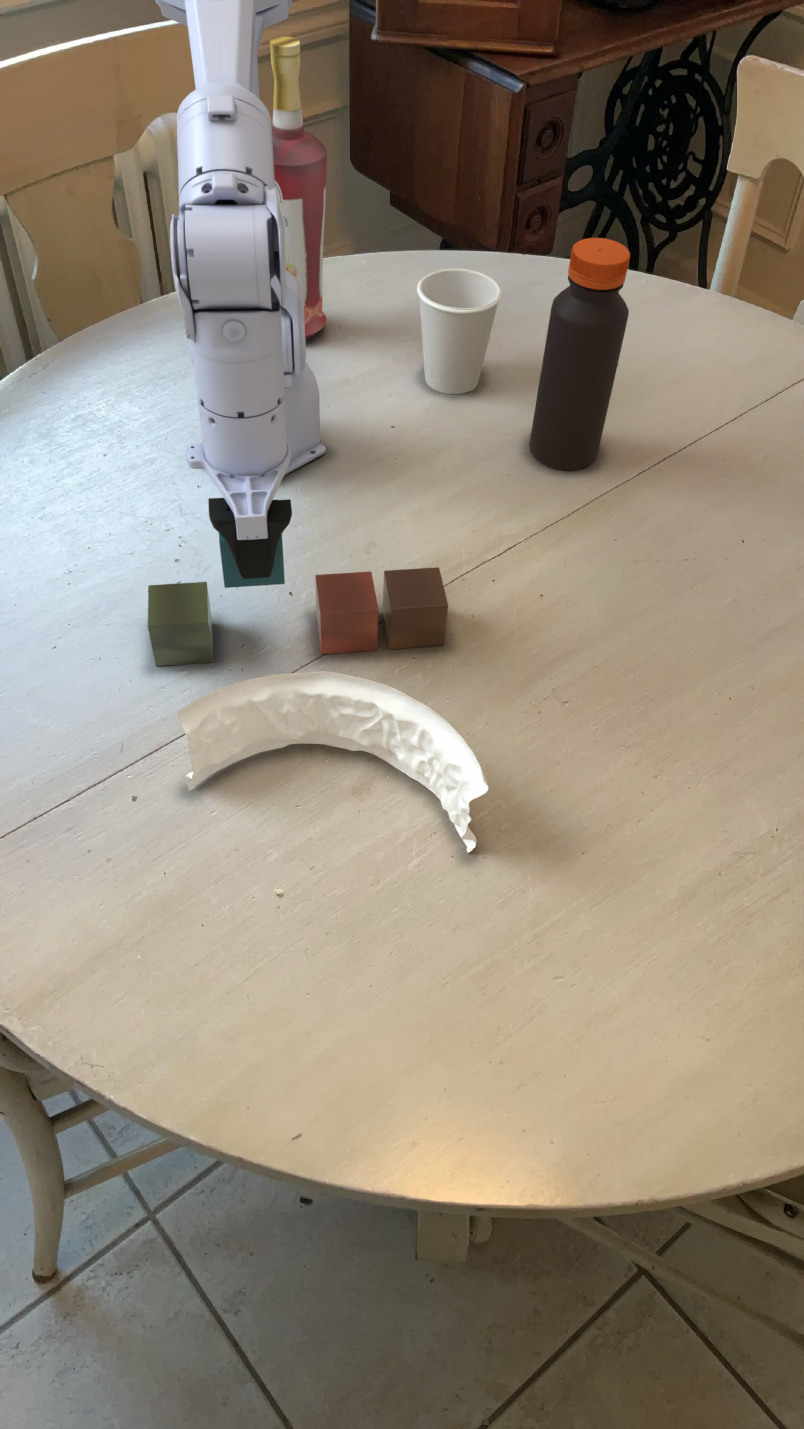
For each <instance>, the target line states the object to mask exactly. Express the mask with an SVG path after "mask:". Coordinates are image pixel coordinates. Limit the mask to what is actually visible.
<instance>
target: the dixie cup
mask: <svg viewBox="0 0 804 1429" xmlns="http://www.w3.org/2000/svg"><path fill="white" fill-rule="evenodd" d="M416 292H417V295H418V297H419V312H420V325H421V339H422V354H423V367H424V368H423V370H424V381H425V383H426V384H427V385H428V387H429V388H431V389H432V390H434V391H436V392H439V393H442V394H446V395H447V394H448V395H461V394H466V393H469V392H471V391H473V390H475V389H476V387H477V386H478V385H479V381H480V377H481V373H482V369H483V365H484V361H485V356H486V353H487V349H488V346H489V341H490V336H491V333H492V329H493V324H494V321H495V317H496V312H497V308H498V304H499V303H500V301H501V300H502V296H503V292H502V289H501V286H500V284H498V282H497V281H495V279H493V278H492V277H490V276H488V275H487V274H485V273H482V272H479V271H476V270H473V269H467V268H444V269H438V270H435V271H431V272H429V273H427V274H426V275H424V277H422V278H421V279H420V280H419V281H418V283H417V286H416Z"/></svg>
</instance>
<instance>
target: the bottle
mask: <svg viewBox="0 0 804 1429" xmlns="http://www.w3.org/2000/svg"><path fill="white" fill-rule="evenodd" d="M630 259H631V252H630V250H629V249H628V247H627V246H625V245H623V244H622V243H620V242H619V241H616V240H613V239H609V238H603V237H589V238H583V239H580V240H578V241H577V242H575V243H574V244H573V245H572V247H571V252H570V258H569V263H568V269H567V270H568V271H567V274H568V275H567V281H568V283H569V285H568V286H567V287H565V288H564V289H563V290H562V291H560V292H559V293H558V294H557V295H556V296H555V297H554V298H553V300H552V304H551V308H550V313H549V320H548V326H547V331H546V338H545V345H544V351H543V355H542V356H543V357H542V363H541V370H540V376H539V381H538V388H537V394H536V400H535V406H534V407H535V408H534V414H533V420H532V426H531V432H530V438H529V444H528V445H529V449H530V451H531V454H532V456H533V457H534V458H535V459H536V460H537V461H539V462H540V463H542V464H543V465H545V466H547V467H550V468H553V469H557V470H562V471H575V470H580V469H583V468H586V467H588V466H590V465H591V464H593V462H595V460H596V459H597V457H598V456H599V450H600V447H601V441H602V437H603V432H604V428H605V424H606V418H607V414H608V410H609V406H610V401H611V396H612V392H613V387H614V383H615V379H616V374H617V369H618V366H619V365H618V364H619V360H620V355H621V351H622V346H623V342H624V338H625V334H626V329H627V324H628V320H629V314H630V311H629V307H628V305H627V302H626V301H625V299H624V298H623V297H622V296H621V294H620V293H619V292H620V291H621V290H622V289H623V288H624V284H625V282H626V277H627V272H628V269H629V264H630Z"/></svg>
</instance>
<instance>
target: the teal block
mask: <svg viewBox="0 0 804 1429" xmlns="http://www.w3.org/2000/svg"><path fill="white" fill-rule="evenodd" d="M218 543H219V544H218V545H219V552H220V560H221V570H222V576H223V577H222V578H223V586H224V588H225V589H227V588H244V587H261V586H274V585H275V586H276V585H285V583H286V582H285V580H286V579H285V578H286V577H285V564H284V563H285V562H284V561H285V560H284V545H283V544H284V543H283V533H282V534H281V536H280V539H279V541H278V544H277V548H276V553H275V558H274V564H273V568H272V572H271V575H270V577H268V578H253V579H243V578H242V576H241V574H240V572H239V570H238V568H237V565H236V563H235V560H234V557H233V554H232V552H231V549H230V547H229V545H228V543H227V542H226V540H225V539H224V538H223V536H222V535H221V534H220V533H219V532H218Z"/></svg>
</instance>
